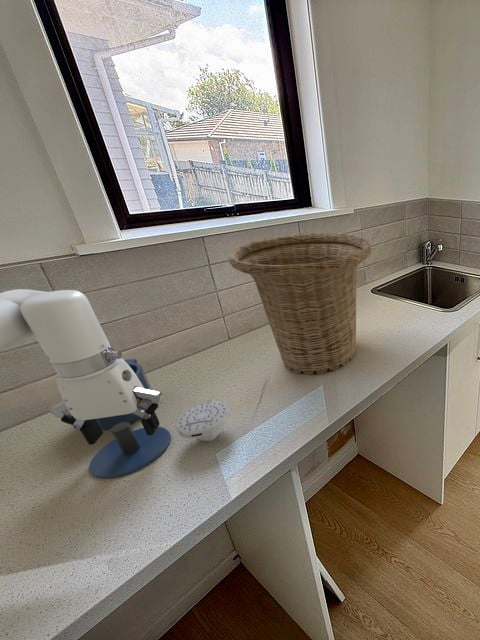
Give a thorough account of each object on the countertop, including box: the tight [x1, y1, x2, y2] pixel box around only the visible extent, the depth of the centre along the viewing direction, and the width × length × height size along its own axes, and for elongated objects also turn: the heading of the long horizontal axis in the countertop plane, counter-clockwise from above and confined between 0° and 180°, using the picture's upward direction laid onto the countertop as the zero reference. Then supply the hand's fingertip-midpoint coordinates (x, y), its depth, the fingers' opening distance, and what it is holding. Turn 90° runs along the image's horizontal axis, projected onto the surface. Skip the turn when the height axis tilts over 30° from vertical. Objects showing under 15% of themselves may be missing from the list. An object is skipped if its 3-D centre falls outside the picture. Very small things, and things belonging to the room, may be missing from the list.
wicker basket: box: [227, 232, 372, 376], centre depth 94 cm, size 35×35×33 cm
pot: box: [96, 358, 153, 431], centre depth 76 cm, size 12×17×10 cm
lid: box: [89, 422, 172, 479], centre depth 66 cm, size 13×13×7 cm
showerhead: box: [175, 397, 232, 442], centre depth 70 cm, size 9×7×10 cm
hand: (125, 434), depth 65 cm, fingers open, 9 cm apart
